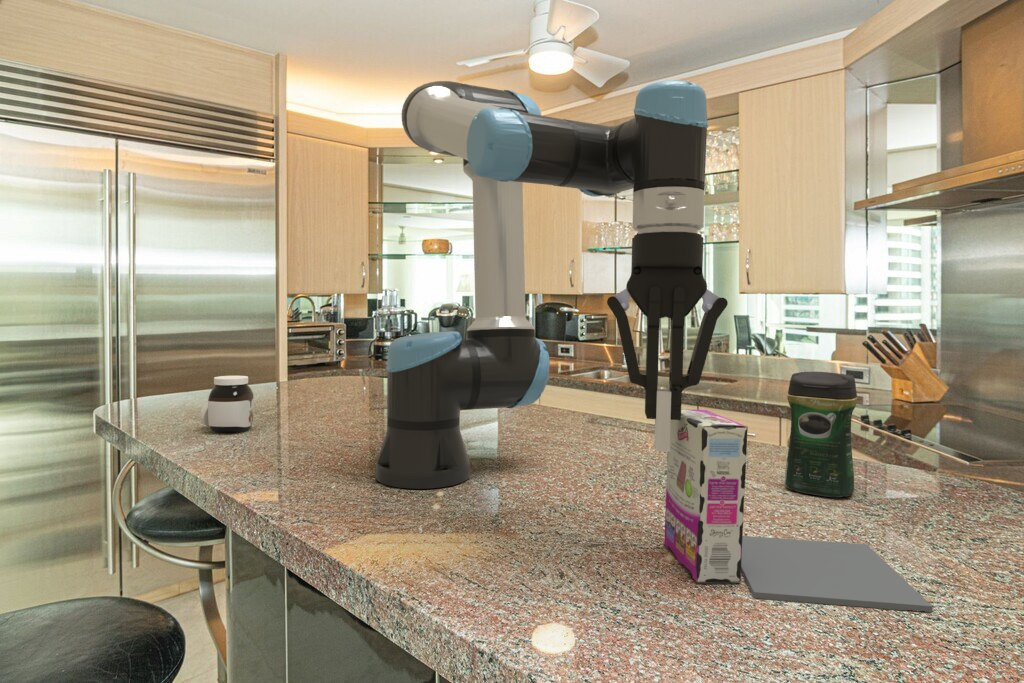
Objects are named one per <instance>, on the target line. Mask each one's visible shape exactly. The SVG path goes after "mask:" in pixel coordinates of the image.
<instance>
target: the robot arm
mask: <svg viewBox="0 0 1024 683" xmlns="http://www.w3.org/2000/svg"><path fill="white" fill-rule="evenodd" d="M634 104H635V105H634V108H633V115H634V117H633V118H631V119H629V120H627V121H625V122H622V123H620V124H617V125H612V126H609V125H604V124H603V125H602V124H596V123H592V122H585V121H578V120H577V121H576V120H570V119H565V118H562V119H561V118H557V117H551V116H546V115H542V113H541V110H540V108H539V106H538V104H537V103H536V102H535V101H534V100H533V99H532V98H531V97H530V96H528V95H526V94H521V93H517V92H516V91H513V90H509V89H504V90H503V89H497V88H491V87H484V86H479V85H474V84H467V83H463V82H457V81H451V80H439V81H432V82H431V81H430V82H428V83H423V84H422V85H420V86H417V87H416V88H414V89H413V90H412V91H411V92H410V93H409V94H408V96H407V97H406V98H405V101H404V102H403V104H402V109H401V123H402V124H401V125H402V127H403V130H404V132H405V134H406V136H407V138H408V139H409V140H410V141H412V143H413V144H414V145H416V146H418V147H419V148H421V149H423V150H426V151H429V152H431V153H432V152H433V153H436V154H440V155H447V156H451V157H459V158H461V159H462V164H463V165H462V168H463V169H462V171H463V172H464V174H465V175H466V176H467V177H469V179H470V180H471V181H472V216H473V220H472V221H473V223H472V224H473V225H472V226H473V227H472V228H473V260H474V262H473V263H474V267H473V268H474V269H473V271H474V272H473V273H474V310H475V313H474V314H475V318H474V321H473V322H472V323H471V324H470V325H469V326H468V327H467V328H466V339H463V337H462V336H461V333H460V332H459V331H453V330H452V331H450V330H448V331H446V330H445V331H437V332H436V331H435V332H433V331H431V332H426V333H417V334H411V335H405V336H402V337H398V338H395V339H394V340H393V341H392V342H390V344H389V346H388V351H387V363H386V367H385V368H386V369H385V370H386V372H387V374H386V375H387V378H386V379H387V380H386V381H387V382H386V386H387V388H386V389H387V390H386V392H387V393H386V396H387V397H386V404H387V405H386V408H387V409H386V410H387V411H386V412H387V413H386V415H387V416H386V417H387V419H386V420H387V421H386V422H387V423H386V424H387V425H386V432H385V436H384V439H383V442H382V445H381V448H380V451H379V453H378V458H377V460H376V462H375V463H376V464H375V479H376V480H377V481H378V482H379V483H380V484H382V485H386V486H389V487H394V488H401V489H402V488H403V489H417V490H423V489H427V490H428V489H439V488H440V489H441V488H445V487H450V486H456V485H458V484H462V483H464V482H466V481H467V480H469V478H471V477H470V476H471V462H470V459H469V456H468V452H467V449H466V446H465V442H464V439H463V437H462V432H461V430H460V429H461V428H460V425H461V424H460V423H461V422H460V420H461V411H470V410H472V411H473V410H486V409H487V410H488V409H505V408H506V409H514V408H518V407H526V406H530V405H533V404H534V403H536V402H537V401H538V400H539V399H540V397H541V395H542V394H543V392H544V390H545V389H546V386H547V384H548V380H549V374H550V355H549V351H547V345H546V344H545V343H544V342H543V341H542V339H539V338H537V337H536V328H535V326H534V325H533V324H532V323H531V322H529V321H528V319H527V315H526V274H525V237H524V234H525V232H524V230H525V229H524V194H523V191H524V190H523V188H524V186H523V183H527V184H538V185H548V186H553V187H554V186H555V187H562V188H571V189H576V190H577V189H578V191H580V192H581V193H583V194H584V195H586V196H590V197H603V196H604V197H605V196H606V197H610V196H614V195H616V194H620V193H622V192H625V191H626V192H627V191H629V190H632V191H633V193H632V229H633V230H634V231H635V232H637V233H636V234H634V235H633V237H632V239H631V266H630V267H631V272H630V277H629V279H628V280H627V282H626V288H625V289H623V290H621V291H620V292H618V293H617V294H615V295H613V296H610V297H608V298H607V300H606V303H607V306H608V308H609V309H610V311H611V312H612V314H613V315H614V317H615V319H616V324H617V327H618V332H619V337H620V341H621V346H622V351H623V356H624V360H625V364H626V369H627V373H628V378H629V382H630V383H632V384H635V385H637V386H640V387H642V388H643V389H644V391H645V392H644V394H645V397H644V415H645V417H646V420H654V434H653V435H654V437H653V440H654V441H653V445H654V451H655V452H667V453H668V452H670V420H679V419H680V417H681V410H682V395H683V391H684V390H685V389H686V388H689V387H693V386H694V387H695V386H698V384H699V383H700V381H701V378H702V374H703V372H704V367H705V364H706V360H707V357H708V353H709V350H710V346H711V342H712V339H713V335H714V332H715V328H716V325H717V321H718V319H719V318H720V316H721V315H722V313H724V311H725V309H726V308H727V307H728V300H727V299H726V298H725V297H720V296H718V295H717V294H715V293H714V292H712V291H710V290H709V289H708V284H707V281H706V279H705V276H704V274H703V272H704V271H703V268H704V267H703V266H704V265H703V263H704V262H703V260H704V237H703V236H702V234H700V233H698V232H699V231H700V230H702V229H703V228H704V219H705V188H706V164H707V163H706V161H707V160H706V159H707V158H706V157H707V134H708V128H709V122H708V110H707V95H706V92H705V90H704V88H703V87H702V86H700V85H699V84H697V83H695V82H691V81H687V80H686V81H685V80H676V79H675V80H663V81H658V82H653V83H650V84H647V85H645V86H643V87H642V88H640V90H639V91H638V93H637V95H636V97H635V102H634ZM630 298H631V299H632V300H633V302H634V303H635V305H636V306H637V307H638V309H639V310H640V312H641V313H642V314H643V315H644V316H645V317H646V344H645V345H646V346H645V348H646V349H645V374H644V373H641V372H640V367H639V364H638V363H639V362H638V359H637V358H638V357H637V355H636V350H635V345H634V339H633V337H632V331H631V326H630V321H629V319H628V315H627V311H628V310H629V308H630V303H629V302H630V301H629V299H630ZM701 299H702V305H701V309H702V311H703V312H704V314H703V316H702V318H701V322H700V326H699V329H698V332H697V336H696V340H695V344H694V347H693V349H692V350H693V351H692V355H691V358H690V361H689V365H688V368H687V372H686V374H684V369H683V368H684V337H685V336H684V335H685V334H684V332H685V318H686V317H687V316H688V315H689V314H690V313H691V311H693V309H694V308H695V307H696V305H697V304H698V302H699V301H700V300H701ZM663 318H668V319H670V320H669V325H670V328H669V329H670V334H669V335H670V336H669V337H670V338H669V368H668V369H669V371H668V373H669V374H668V376H669V378H668V380H669V381H668V385H669V388H661V387H660V388H659V387H658V384H659V380H658V379H659V356H660V354H659V351H660V349H659V348H660V327H661V326H660V325H661V324H660V323H661V319H663Z"/></svg>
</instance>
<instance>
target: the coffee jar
mask: <svg viewBox="0 0 1024 683" xmlns="http://www.w3.org/2000/svg"><path fill="white" fill-rule="evenodd" d="M786 397H787V402H788V405H789V407H790V434H789V435H790V436H789V442H788V451H787V458H786V463H785V473H784V484H785V486H786V487H787V488H788V489H789V490H791V491H796V492H799V493H802V494H805V495H812V496H818V497H819V496H820V497H829V498H842V497H846V498H847V497H848V496H851V495H852V494H853V493H854V489H855V474H854V461H853V448H852V418H853V417H852V416H853V413H854V410H855V408H856V406H857V403H858V393H857V386H856V380H855V376H854V375H851V374H845V373H837V372H828V371H801V372H800V371H799V372H795V373H793V374H792V375H791V377H790V381H789V385H788V391H787V396H786Z"/></svg>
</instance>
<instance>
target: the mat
mask: <svg viewBox="0 0 1024 683" xmlns="http://www.w3.org/2000/svg"><path fill="white" fill-rule="evenodd" d="M741 576H742V577H743V578H744V581H745V583H746V585H747V587H748V589H749V591H750V594H751V596H752V597H753V599H761V600H770V601H771V600H773V601H785V602H787V601H788V602H798V603H811V604H822V605H823V604H825V605H834V606H835V605H836V606H846V607H861V608H869V609H870V608H871V609H883V610H884V609H885V610H896V611H899V610H900V611H907V610H913V611H912V612H919V611H925V612H924V613H931V612H932V613H933V608H934V606H933V605H932V604H931V603H930V602H929V601H928V600H926V598H924V597H923V596H922V595H921V593H919V592H918V591H917V590H916V589H915V588H914V587H913V586H912V585H911V584H910V583H909V582H907V580H906V579H904V578H903V577H902V576H901V575H900V574H899V573H898V572H897V571H896V570H895V569H894V568H892V567H891V566H890V565H889V564H888V563H887V562H886V561H885V560H884V559H883V558H882V557H881V556H880V554H878V553H876V551H874V549H872V548H871V547H870V546H869V545H868V544H867V543H851V542H838V541H825V540H824V541H822V540H808V539H793V538H776V537H764V536H762V537H761V536H749V535H743V536H742V559H741ZM914 610H916V611H914ZM917 610H918V611H917Z"/></svg>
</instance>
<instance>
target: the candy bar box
mask: <svg viewBox="0 0 1024 683" xmlns="http://www.w3.org/2000/svg"><path fill="white" fill-rule="evenodd" d="M747 447H748V425H744V424H743V423H739V422H737V421H734V420H732V419H730V418H727V417H725V416H722V415H720V414H717V413H715V412H712V411H709V410H706V409H681V417H680V419H679V420H670V452H667V459H666V461H667V462H666V466H667V467H666V486H665V489H666V490H665V510H664V511H665V512H664V513H665V516H664V537H663V538H664V540H663V541H664V542H663V545H664V546H665V548H666V549H667V550H668V551H669V552H670V553H671V554H672V555H673V557H674V558H675V559H676V561H678V562H679V564H680V565H681V566H682V567H683V568H684V569H685V571H686V572H687V573H689V574H690V576H691V577H692V579H694V581H695V582H696V583H698V584H739V583H741V581H742V573H741V559H742V536H744V535H743V533H744V532H743V528H744V513H745V512H744V507H745V491H746V487H745V486H746V475H747V474H746V472H747V471H746V470H747V469H746V468H747V449H748V448H747Z"/></svg>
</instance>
